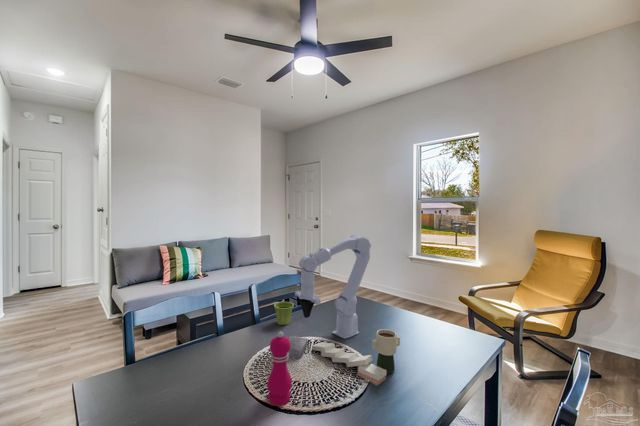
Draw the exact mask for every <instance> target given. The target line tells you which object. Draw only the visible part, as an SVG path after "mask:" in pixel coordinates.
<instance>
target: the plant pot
mask: <svg viewBox="0 0 640 426" xmlns="http://www.w3.org/2000/svg"><path fill="white" fill-rule="evenodd" d="M294 306H295V305H294V303H293V302H290V301H280V302H276V303H274V305H273V307H274V310H275V315H276V316H275V317H276V322H277V323H276V324H278V325H281V326H283V325H284V326H286V325H289V324H290V322H291V316H292V312H293V311H292V310H293V309H294Z"/></svg>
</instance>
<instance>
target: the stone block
mask: <svg viewBox="0 0 640 426" xmlns="http://www.w3.org/2000/svg"><path fill="white" fill-rule="evenodd" d="M287 338H288V339H289V341H290V350H289V351H288V353H289V355H288V356H289V358H288V359H291V358H292V359H302V358H303V355H304V354H305V351H306V349H307V347H308V345H309V344H308V343H309V342H308V341H309V339H308V338H307V337H306V338H305V337H303V336H302V337H301V336H295V335H294V336H289V337H287Z"/></svg>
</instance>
